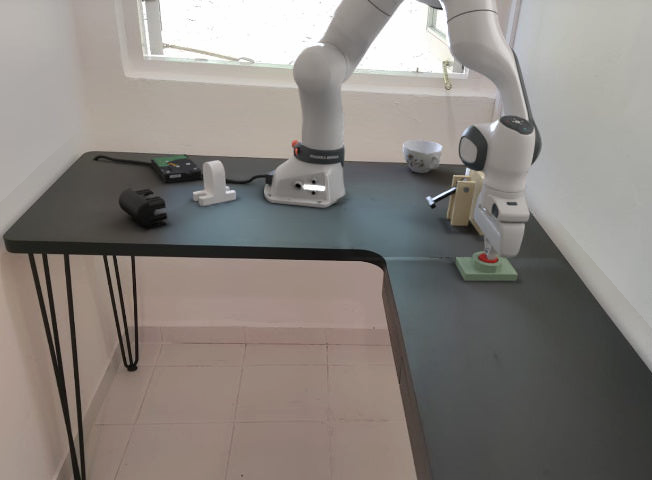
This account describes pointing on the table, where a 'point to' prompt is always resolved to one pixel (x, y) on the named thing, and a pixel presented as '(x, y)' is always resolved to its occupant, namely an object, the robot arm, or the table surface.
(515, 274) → the green button base
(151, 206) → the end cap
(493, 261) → the button
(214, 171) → the white mounting bracket
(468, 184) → the lever bracket
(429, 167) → the teacup
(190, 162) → the disk drive
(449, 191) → the lever
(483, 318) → the table surface
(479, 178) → the toaster
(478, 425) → the table surface
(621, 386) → the table surface
